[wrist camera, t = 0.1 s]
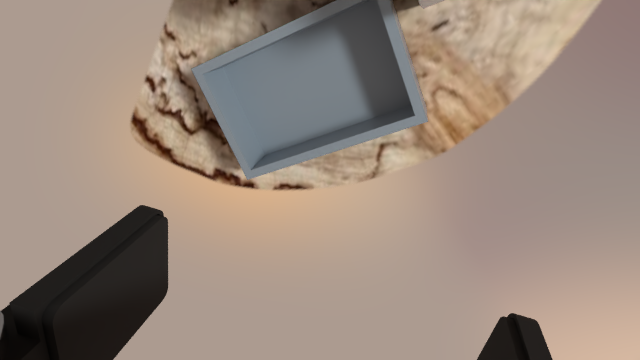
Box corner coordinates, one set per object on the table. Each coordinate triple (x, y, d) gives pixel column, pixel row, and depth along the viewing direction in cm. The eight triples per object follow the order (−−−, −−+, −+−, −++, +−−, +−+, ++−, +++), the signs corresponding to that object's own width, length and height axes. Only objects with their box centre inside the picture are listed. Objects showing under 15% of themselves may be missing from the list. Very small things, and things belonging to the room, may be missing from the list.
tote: (216, 61, 47) (191, 69, 42) (386, -19, 40) (382, -22, 34) (264, 161, 52) (247, 179, 46) (426, 106, 44) (427, 121, 39)
